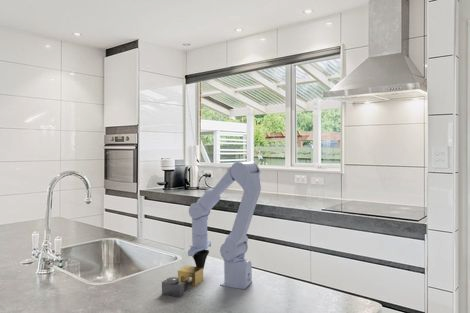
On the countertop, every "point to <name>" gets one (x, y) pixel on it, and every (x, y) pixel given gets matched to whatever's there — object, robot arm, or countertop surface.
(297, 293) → the countertop surface
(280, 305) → the countertop surface
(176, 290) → the coupler
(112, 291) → the countertop surface
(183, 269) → the coupler lock
